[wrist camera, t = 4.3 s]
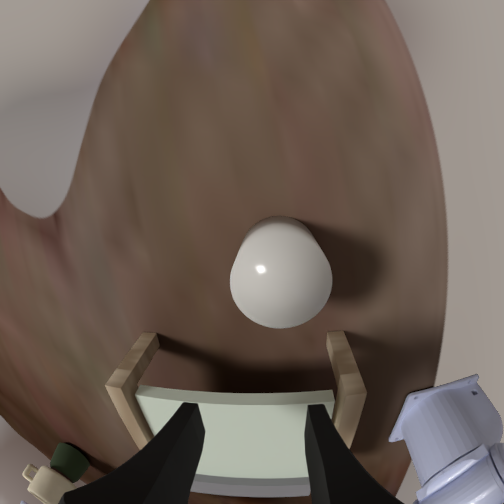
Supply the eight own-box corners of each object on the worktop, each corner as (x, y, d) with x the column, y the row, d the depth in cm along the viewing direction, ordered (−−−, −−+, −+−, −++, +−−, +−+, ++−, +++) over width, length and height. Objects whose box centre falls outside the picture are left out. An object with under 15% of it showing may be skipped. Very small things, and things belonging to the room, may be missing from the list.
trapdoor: (313, 479, 18) (314, 494, 16) (183, 475, 19) (179, 489, 17) (332, 389, 15) (337, 410, 13) (140, 384, 16) (130, 403, 14)
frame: (343, 330, 19) (367, 392, 13) (323, 448, 23) (329, 498, 17) (143, 332, 20) (104, 385, 14) (183, 446, 25) (169, 492, 18)
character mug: (50, 439, 30) (20, 485, 18) (49, 425, 28) (13, 476, 16) (101, 473, 31) (77, 524, 19) (106, 463, 29) (77, 521, 17)
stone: (316, 214, 17) (333, 231, 12) (316, 286, 18) (329, 325, 13) (238, 217, 17) (225, 236, 12) (243, 289, 19) (234, 329, 14)
